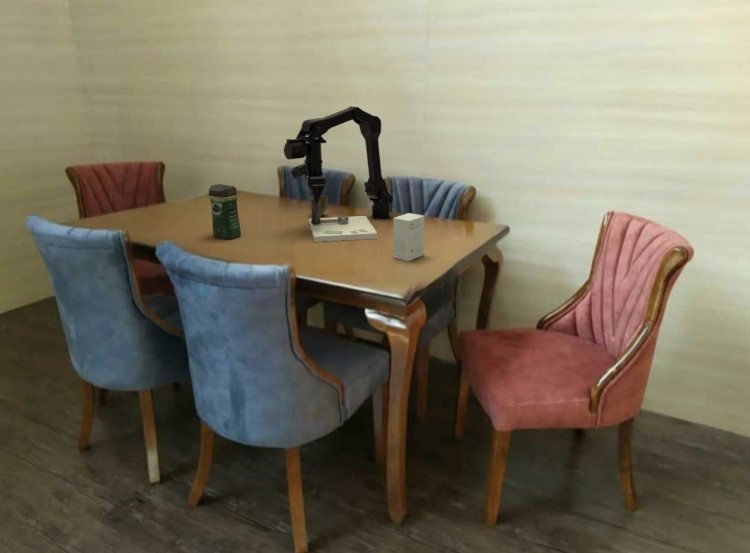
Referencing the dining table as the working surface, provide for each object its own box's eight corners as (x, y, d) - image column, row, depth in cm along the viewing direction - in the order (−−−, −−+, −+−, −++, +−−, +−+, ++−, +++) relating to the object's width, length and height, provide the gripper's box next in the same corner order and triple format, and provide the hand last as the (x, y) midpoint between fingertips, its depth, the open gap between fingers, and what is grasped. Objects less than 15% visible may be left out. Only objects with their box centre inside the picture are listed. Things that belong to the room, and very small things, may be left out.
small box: (408, 251, 187) (408, 212, 182) (423, 255, 183) (424, 215, 178) (392, 257, 181) (392, 217, 176) (408, 261, 177) (409, 220, 172)
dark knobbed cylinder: (347, 220, 215) (347, 196, 211) (349, 222, 211) (348, 198, 208) (310, 222, 212) (309, 198, 209) (311, 224, 208) (310, 200, 205)
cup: (330, 213, 235) (329, 194, 232) (326, 218, 228) (326, 198, 225) (312, 213, 235) (311, 194, 233) (308, 218, 228) (307, 198, 226)
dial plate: (365, 220, 224) (365, 215, 223) (377, 238, 201) (377, 232, 200) (309, 223, 220) (308, 218, 219) (314, 242, 197) (314, 236, 196)
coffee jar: (245, 235, 205) (240, 184, 198) (228, 241, 199) (223, 188, 192) (226, 231, 210) (221, 181, 204) (209, 236, 204) (203, 185, 198)
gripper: (289, 153, 210) (291, 195, 215) (291, 161, 192) (294, 207, 198) (319, 152, 212) (321, 194, 217) (324, 160, 194) (326, 205, 200)
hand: (315, 200), depth 208 cm, fingers open, 9 cm apart
